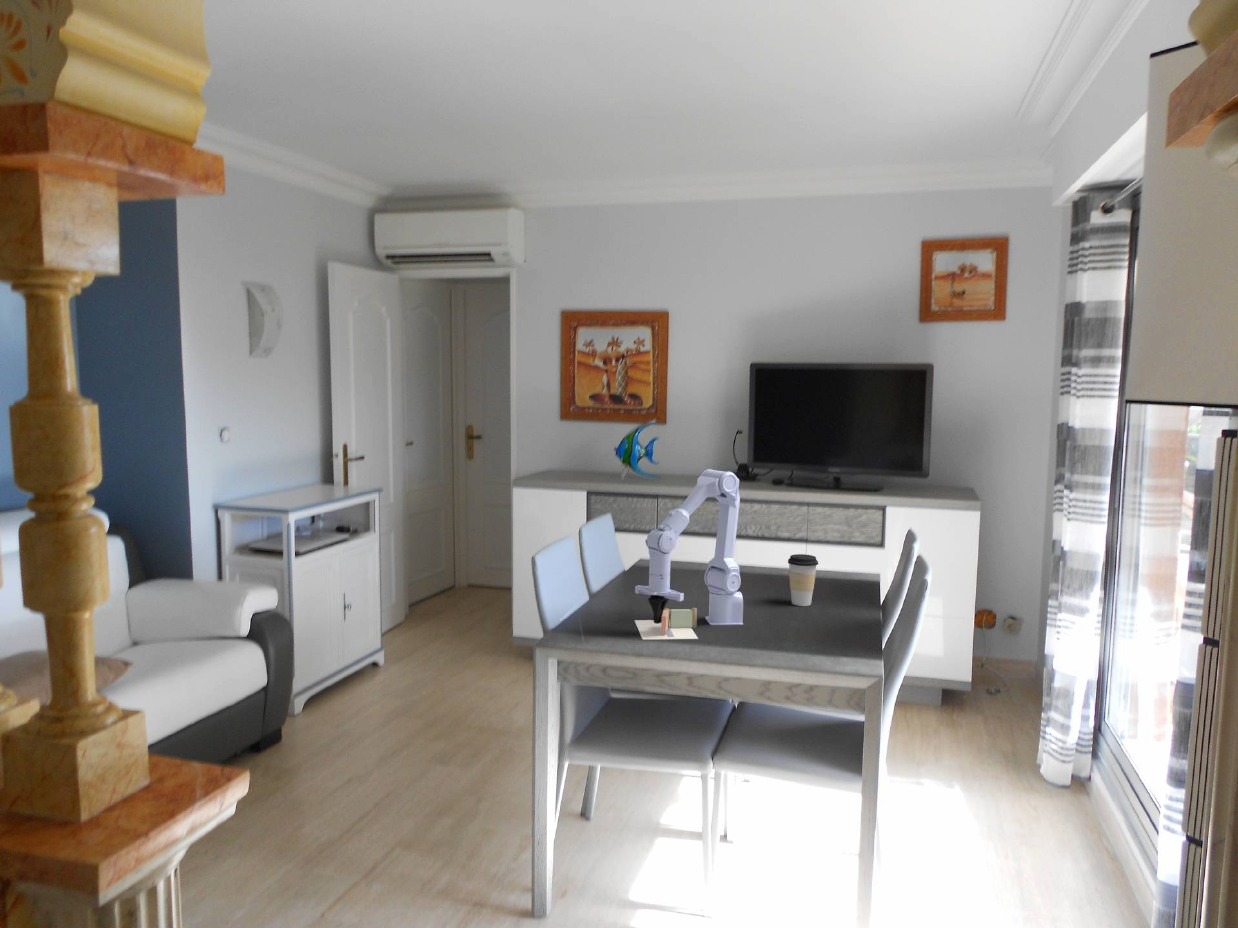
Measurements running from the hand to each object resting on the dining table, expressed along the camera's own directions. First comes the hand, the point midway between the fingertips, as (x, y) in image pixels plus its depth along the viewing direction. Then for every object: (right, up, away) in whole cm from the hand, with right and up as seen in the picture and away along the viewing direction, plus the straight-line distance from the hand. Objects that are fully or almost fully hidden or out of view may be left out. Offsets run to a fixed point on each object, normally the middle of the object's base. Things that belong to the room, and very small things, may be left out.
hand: (658, 622), depth 240 cm
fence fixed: (+7, -2, +6) cm, 10 cm away
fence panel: (+2, -2, +2) cm, 3 cm away
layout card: (+2, -3, +4) cm, 5 cm away
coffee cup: (+47, -1, +36) cm, 59 cm away
